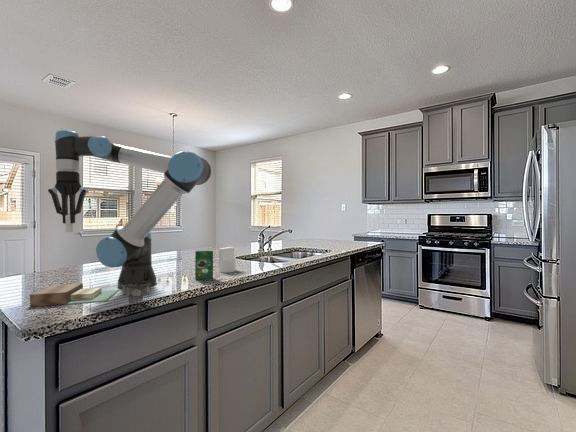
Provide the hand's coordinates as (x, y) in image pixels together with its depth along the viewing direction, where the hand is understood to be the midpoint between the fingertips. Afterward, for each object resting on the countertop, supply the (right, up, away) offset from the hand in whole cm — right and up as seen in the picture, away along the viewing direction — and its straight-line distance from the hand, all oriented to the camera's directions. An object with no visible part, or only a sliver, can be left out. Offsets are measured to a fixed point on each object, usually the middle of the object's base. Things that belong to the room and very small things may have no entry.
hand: (69, 231), depth 124 cm
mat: (+14, -24, -6) cm, 28 cm away
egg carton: (+27, -24, -1) cm, 36 cm away
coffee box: (+47, -23, +23) cm, 57 cm away
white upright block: (+54, -23, +42) cm, 72 cm away
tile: (+11, -24, -7) cm, 27 cm away
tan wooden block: (+2, -24, -9) cm, 26 cm away
